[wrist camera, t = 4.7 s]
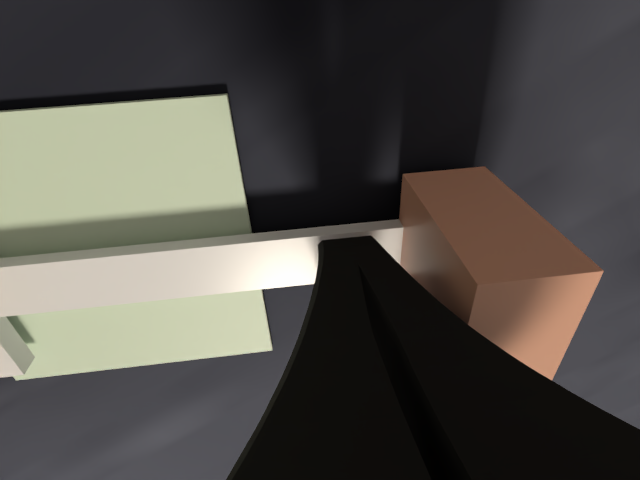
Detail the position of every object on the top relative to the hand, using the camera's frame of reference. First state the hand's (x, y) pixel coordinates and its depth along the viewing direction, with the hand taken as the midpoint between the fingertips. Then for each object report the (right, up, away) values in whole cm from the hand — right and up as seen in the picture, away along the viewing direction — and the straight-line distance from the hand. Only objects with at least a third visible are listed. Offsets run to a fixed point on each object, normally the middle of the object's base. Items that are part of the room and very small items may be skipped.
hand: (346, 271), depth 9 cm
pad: (-6, 0, +1) cm, 6 cm away
